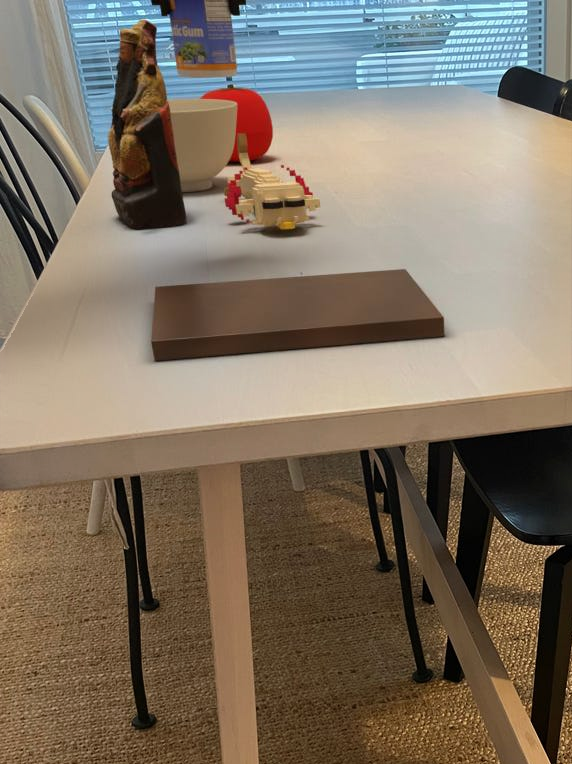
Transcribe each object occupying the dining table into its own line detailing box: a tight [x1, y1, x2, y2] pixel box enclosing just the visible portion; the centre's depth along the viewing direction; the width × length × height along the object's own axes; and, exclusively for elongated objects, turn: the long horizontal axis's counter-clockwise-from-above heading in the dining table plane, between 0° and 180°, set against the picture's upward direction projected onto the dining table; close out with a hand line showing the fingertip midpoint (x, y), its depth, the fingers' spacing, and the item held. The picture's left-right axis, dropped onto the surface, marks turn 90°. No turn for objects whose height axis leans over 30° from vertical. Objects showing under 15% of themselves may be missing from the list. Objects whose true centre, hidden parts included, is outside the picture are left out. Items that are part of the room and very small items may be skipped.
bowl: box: [110, 98, 237, 193], centre depth 131 cm, size 16×16×10 cm
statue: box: [107, 19, 187, 230], centre depth 110 cm, size 12×8×20 cm, turn 22°
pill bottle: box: [168, 0, 238, 79], centre depth 88 cm, size 5×5×10 cm
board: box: [150, 268, 445, 362], centre depth 81 cm, size 22×16×2 cm
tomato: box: [199, 83, 274, 163], centre depth 151 cm, size 12×12×10 cm
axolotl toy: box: [223, 134, 321, 230], centre depth 115 cm, size 10×9×25 cm
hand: (200, 13), depth 88 cm, fingers closed on pill bottle, 5 cm apart
